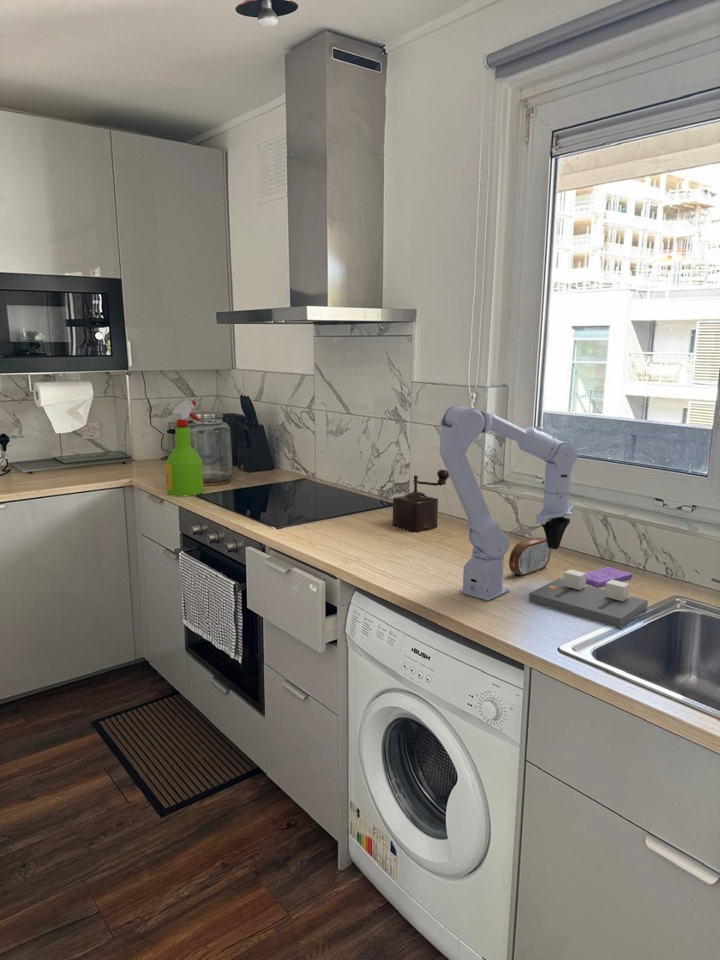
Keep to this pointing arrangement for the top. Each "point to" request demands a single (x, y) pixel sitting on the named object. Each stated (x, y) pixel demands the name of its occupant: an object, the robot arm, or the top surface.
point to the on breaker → (617, 590)
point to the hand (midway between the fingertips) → (553, 548)
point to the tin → (529, 556)
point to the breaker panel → (588, 603)
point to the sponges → (606, 576)
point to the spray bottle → (184, 457)
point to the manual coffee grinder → (417, 507)
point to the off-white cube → (574, 579)
